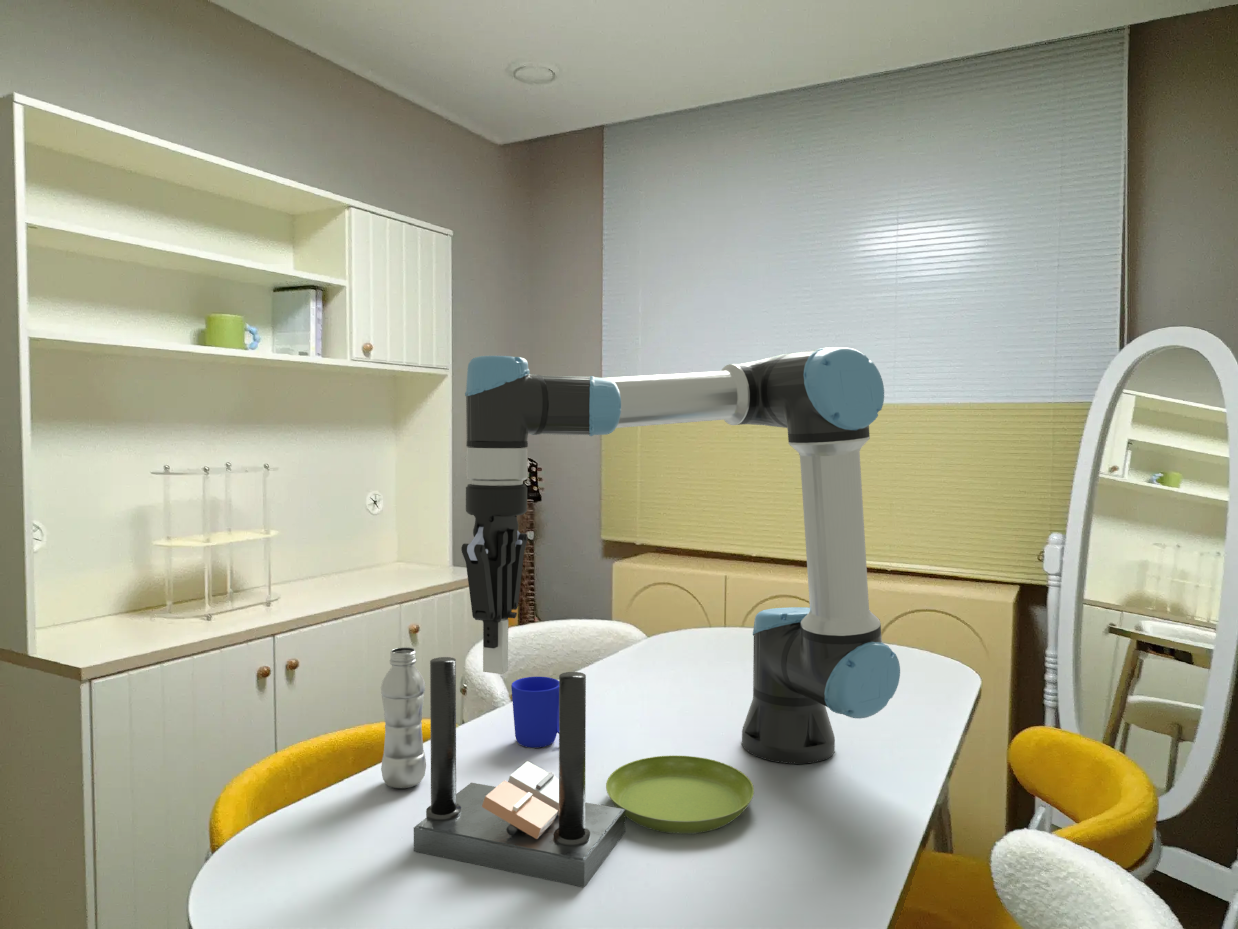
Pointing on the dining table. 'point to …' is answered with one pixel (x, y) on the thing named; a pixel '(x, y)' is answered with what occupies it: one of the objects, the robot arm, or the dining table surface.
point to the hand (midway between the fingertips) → (495, 671)
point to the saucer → (680, 793)
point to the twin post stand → (462, 820)
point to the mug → (535, 711)
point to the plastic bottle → (403, 721)
